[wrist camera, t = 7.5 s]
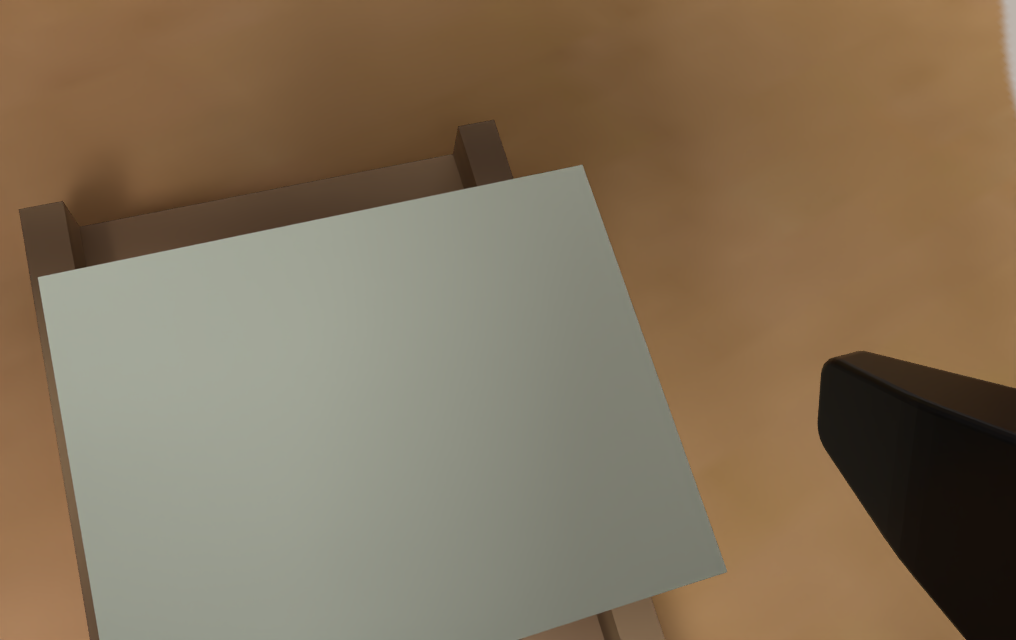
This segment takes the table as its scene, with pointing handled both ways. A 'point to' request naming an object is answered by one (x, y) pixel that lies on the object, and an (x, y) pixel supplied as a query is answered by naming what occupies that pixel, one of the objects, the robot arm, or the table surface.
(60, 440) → the wooden tray
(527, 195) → the pale green recessed block
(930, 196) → the table surface
